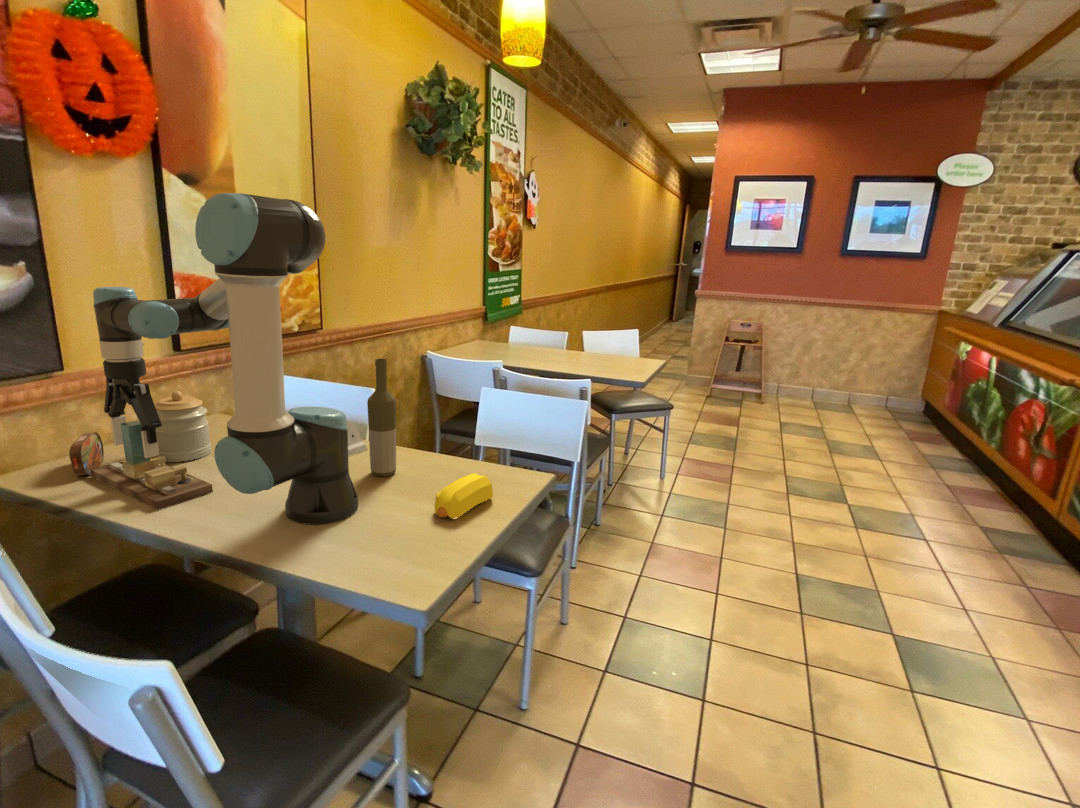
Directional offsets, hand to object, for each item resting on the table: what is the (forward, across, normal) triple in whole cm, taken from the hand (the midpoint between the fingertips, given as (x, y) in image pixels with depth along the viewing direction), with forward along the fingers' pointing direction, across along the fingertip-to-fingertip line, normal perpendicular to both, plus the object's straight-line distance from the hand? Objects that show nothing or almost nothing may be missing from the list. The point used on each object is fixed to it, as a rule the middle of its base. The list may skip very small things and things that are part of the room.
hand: (136, 450), depth 132 cm
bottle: (+9, -37, -40) cm, 55 cm away
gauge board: (+9, 0, -2) cm, 9 cm away
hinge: (+10, -17, -42) cm, 46 cm away
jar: (+10, +14, -17) cm, 24 cm away
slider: (+7, 0, -2) cm, 7 cm away
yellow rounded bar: (+10, -66, -37) cm, 76 cm away
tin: (+10, +21, +2) cm, 23 cm away
